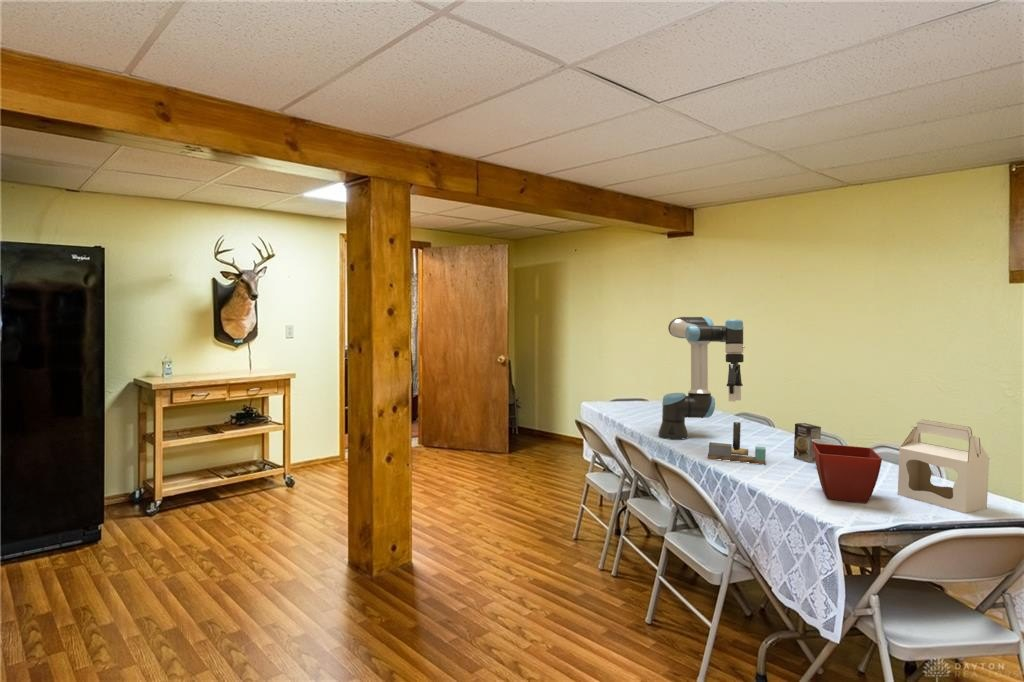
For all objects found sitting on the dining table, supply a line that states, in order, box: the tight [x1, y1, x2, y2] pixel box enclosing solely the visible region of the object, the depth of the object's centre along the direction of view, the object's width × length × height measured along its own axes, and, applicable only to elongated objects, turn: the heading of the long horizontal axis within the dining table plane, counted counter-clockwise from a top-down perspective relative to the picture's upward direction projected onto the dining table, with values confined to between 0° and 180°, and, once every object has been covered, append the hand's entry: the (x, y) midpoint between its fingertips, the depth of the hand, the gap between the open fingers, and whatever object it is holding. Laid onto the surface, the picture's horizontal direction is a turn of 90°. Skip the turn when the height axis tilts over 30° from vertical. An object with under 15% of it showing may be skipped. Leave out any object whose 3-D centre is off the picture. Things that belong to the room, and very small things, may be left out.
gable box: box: [897, 419, 990, 514], centre depth 199 cm, size 22×13×28 cm, turn 25°
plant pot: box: [813, 444, 883, 504], centre depth 203 cm, size 19×19×17 cm
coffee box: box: [793, 422, 822, 463], centre depth 255 cm, size 9×6×16 cm
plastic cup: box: [812, 439, 841, 448], centre depth 240 cm, size 11×11×12 cm
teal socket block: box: [754, 445, 767, 462], centre depth 250 cm, size 4×5×5 cm
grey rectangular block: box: [708, 441, 733, 457], centre depth 256 cm, size 10×5×5 cm, turn 68°
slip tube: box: [731, 421, 749, 456], centre depth 254 cm, size 14×3×14 cm, turn 68°
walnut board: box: [706, 451, 766, 465], centre depth 254 cm, size 24×7×2 cm, turn 68°
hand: (734, 400), depth 253 cm, fingers open, 13 cm apart
